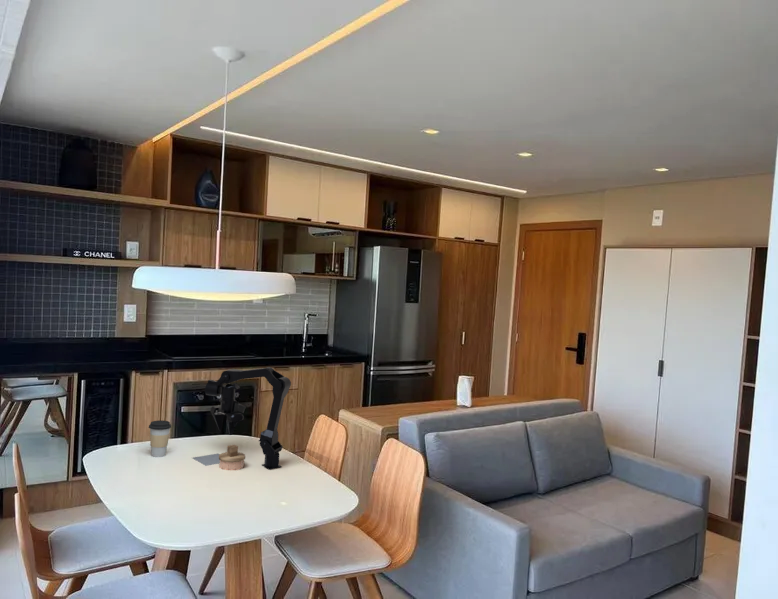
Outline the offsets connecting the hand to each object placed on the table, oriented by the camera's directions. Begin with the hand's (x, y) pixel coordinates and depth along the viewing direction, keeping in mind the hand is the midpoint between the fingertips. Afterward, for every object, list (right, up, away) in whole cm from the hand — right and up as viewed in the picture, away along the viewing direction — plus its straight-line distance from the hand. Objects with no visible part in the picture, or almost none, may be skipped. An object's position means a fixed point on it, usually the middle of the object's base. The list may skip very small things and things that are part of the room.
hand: (225, 432), depth 263 cm
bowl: (+5, -13, -10) cm, 17 cm away
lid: (+6, -9, -10) cm, 15 cm away
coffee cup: (-29, -10, -2) cm, 31 cm away
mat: (-5, -12, -2) cm, 13 cm away
